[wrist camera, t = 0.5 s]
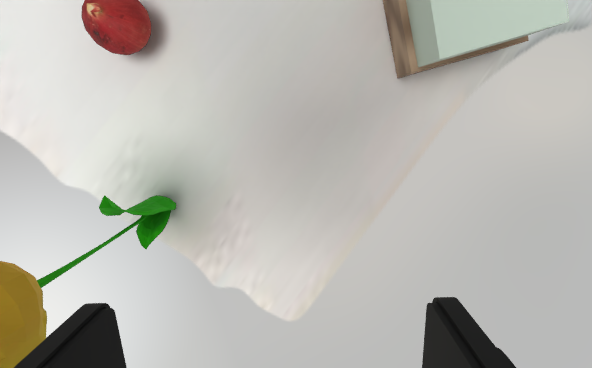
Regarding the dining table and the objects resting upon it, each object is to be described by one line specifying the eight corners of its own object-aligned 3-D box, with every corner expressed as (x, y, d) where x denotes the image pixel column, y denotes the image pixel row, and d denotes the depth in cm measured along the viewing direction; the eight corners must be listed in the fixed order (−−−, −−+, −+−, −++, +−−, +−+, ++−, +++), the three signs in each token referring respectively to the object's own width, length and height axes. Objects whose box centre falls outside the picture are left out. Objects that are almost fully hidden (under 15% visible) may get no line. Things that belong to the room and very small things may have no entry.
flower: (202, 230, 39) (-89, 575, 10) (141, 233, 40) (-311, 574, 11) (193, 164, 37) (-202, 358, 8) (128, 167, 38) (-472, 366, 9)
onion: (150, 69, 35) (106, 58, 27) (104, 41, 34) (45, 21, 27) (172, 21, 34) (133, -5, 26) (125, -9, 33) (69, -45, 25)
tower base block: (376, -28, 32) (389, -52, 27) (483, -62, 31) (515, -93, 26) (396, 78, 35) (411, 73, 30) (496, 50, 34) (528, 40, 29)
